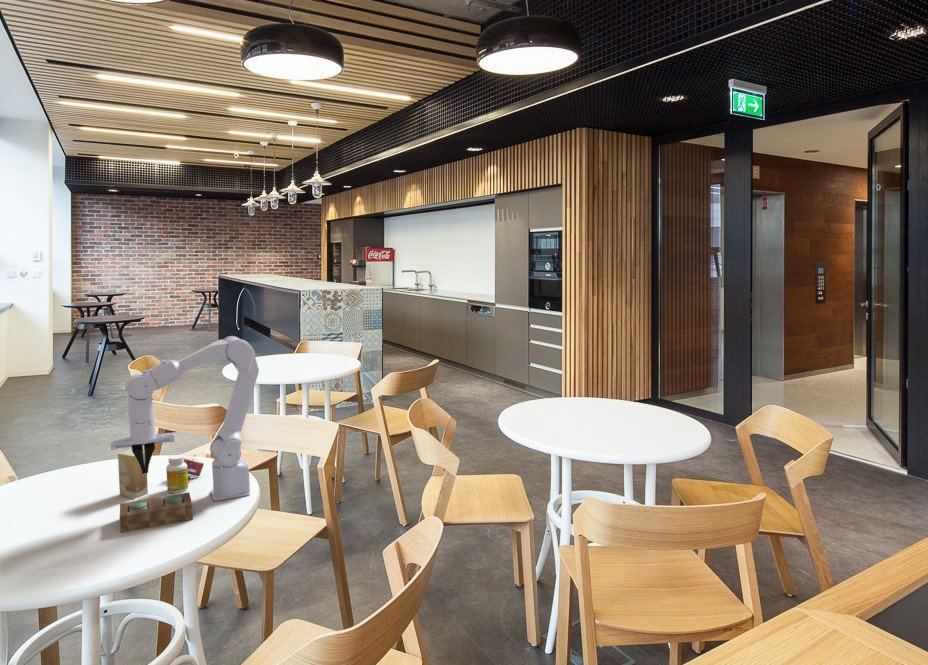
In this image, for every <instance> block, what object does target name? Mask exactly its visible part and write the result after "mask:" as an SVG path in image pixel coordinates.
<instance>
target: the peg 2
mask: <svg viewBox="0 0 928 665" xmlns="http://www.w3.org/2000/svg"><path fill="white" fill-rule="evenodd" d="M178 503H182V497H180V496H173V497H169V498H167V499H165V506H166V505H172V504H178Z"/></svg>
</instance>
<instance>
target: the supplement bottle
mask: <svg viewBox="0 0 928 665" xmlns="http://www.w3.org/2000/svg"><path fill="white" fill-rule="evenodd" d="M184 459H185V456H184V455H183V454H174V455H171V456H169V457H168V464H167V466H166V469H165V470H166V486H167V492H168V493H170V494H180V493H184V492H185V491H187V490H188V489H189V476H188V471H187V464H186V463H185V462H184Z"/></svg>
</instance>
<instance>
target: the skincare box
mask: <svg viewBox="0 0 928 665" xmlns="http://www.w3.org/2000/svg"><path fill="white" fill-rule="evenodd" d="M117 459H118V460H117V461H118V466H117V467H118V484H119V487H118V488H119V496H123V497H127V498H132V499H137V498H140V497H143V496H145V495H147V494H148V493H149V491H148V490H149V489H148V486H149V485H148V473H144V474H142V470H141V467H140V464H139V462H138V460H137V458H136V457H135V455H134V454H133V452H132V448H130V449H126V450H124V451H120V452H118V453H117ZM143 459H144V465H145V451H143Z"/></svg>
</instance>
